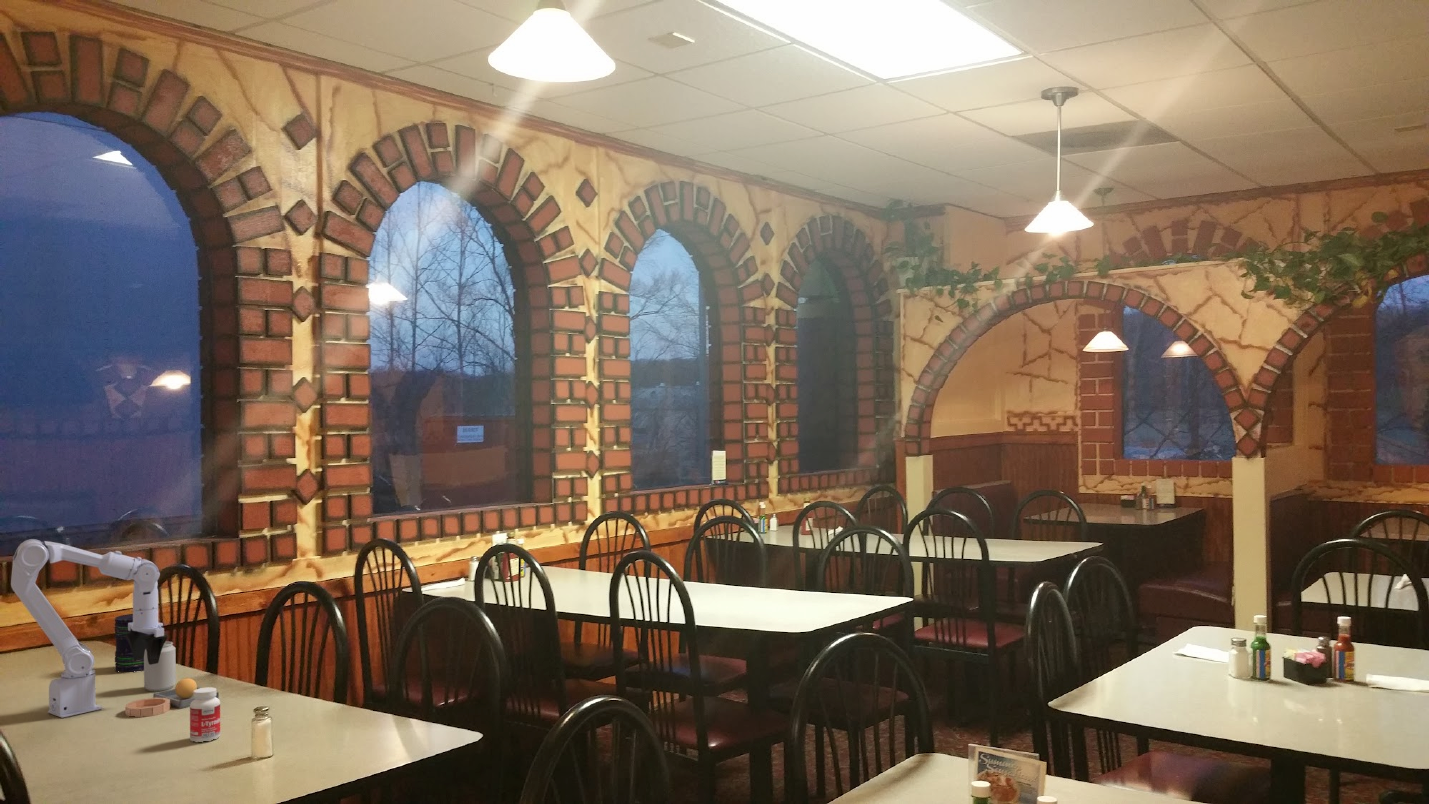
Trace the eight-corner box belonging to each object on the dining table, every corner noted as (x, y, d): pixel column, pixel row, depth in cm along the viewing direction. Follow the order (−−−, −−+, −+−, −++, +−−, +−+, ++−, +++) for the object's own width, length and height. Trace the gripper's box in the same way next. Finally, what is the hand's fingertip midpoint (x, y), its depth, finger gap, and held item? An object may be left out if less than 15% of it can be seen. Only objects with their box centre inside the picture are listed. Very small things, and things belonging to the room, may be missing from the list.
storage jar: (122, 665, 310) (121, 613, 310) (158, 663, 312) (158, 612, 312) (109, 673, 301) (108, 620, 301) (147, 672, 302) (146, 619, 302)
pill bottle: (201, 744, 237) (201, 694, 237) (184, 740, 240) (183, 691, 240) (226, 737, 242) (226, 688, 242) (209, 733, 245) (208, 684, 245)
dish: (137, 719, 257) (137, 710, 257) (118, 712, 262) (118, 704, 262) (177, 709, 264) (177, 701, 264) (157, 703, 270) (157, 695, 270)
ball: (181, 702, 269) (182, 682, 269) (171, 698, 272) (171, 679, 272) (200, 697, 274) (201, 678, 274) (190, 694, 276) (190, 675, 276)
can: (166, 692, 281) (166, 646, 281) (138, 692, 281) (137, 646, 281) (181, 684, 288) (181, 640, 288) (153, 684, 288) (153, 640, 288)
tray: (179, 708, 265) (179, 701, 265) (153, 700, 273) (153, 693, 273) (218, 699, 273) (218, 692, 273) (191, 691, 281) (191, 685, 281)
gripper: (175, 608, 272) (176, 662, 272) (147, 602, 280) (147, 654, 280) (147, 613, 266) (148, 668, 266) (119, 607, 275) (119, 660, 275)
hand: (146, 661), depth 273 cm, fingers open, 7 cm apart
